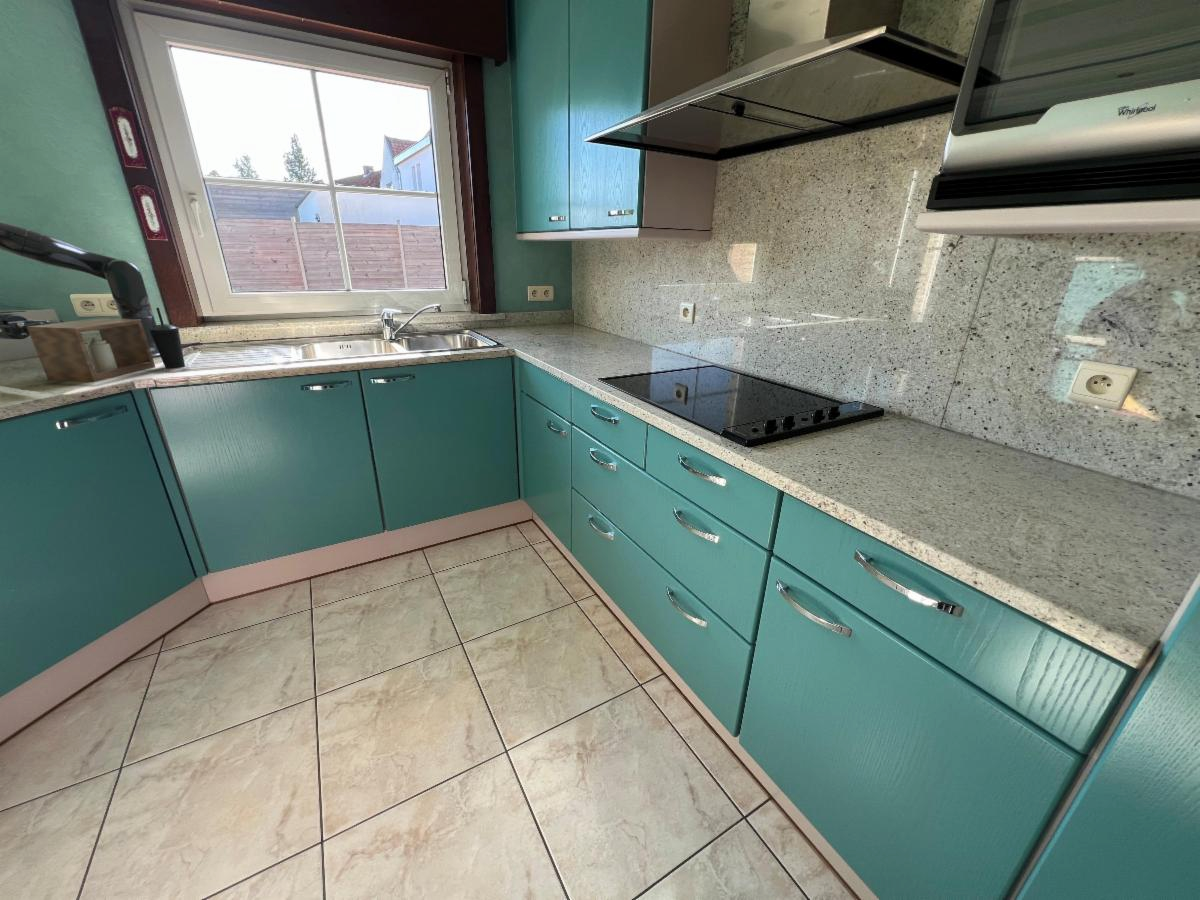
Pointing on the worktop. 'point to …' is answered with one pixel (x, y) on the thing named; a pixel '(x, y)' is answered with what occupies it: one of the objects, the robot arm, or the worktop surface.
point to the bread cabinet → (69, 355)
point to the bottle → (101, 354)
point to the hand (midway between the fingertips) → (54, 328)
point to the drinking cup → (168, 344)
